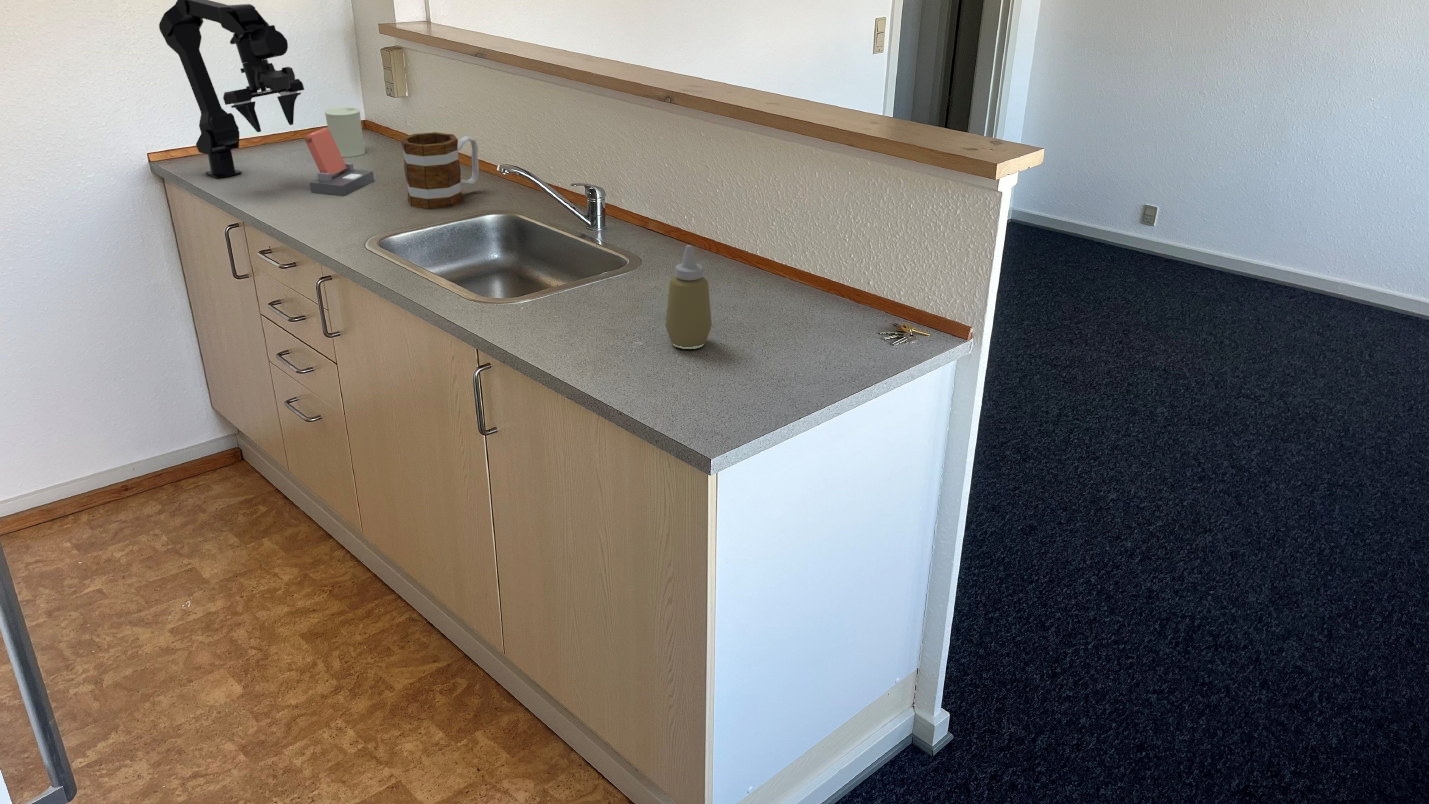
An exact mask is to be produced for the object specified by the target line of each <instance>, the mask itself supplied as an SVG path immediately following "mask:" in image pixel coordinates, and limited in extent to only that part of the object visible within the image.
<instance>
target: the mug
mask: <svg viewBox="0 0 1429 804" xmlns="http://www.w3.org/2000/svg"><path fill="white" fill-rule="evenodd" d="M468 141H469V142H470V146H471V168H472V169H471V170H472V171H471V172H472V174H471V177H470V178H469V179H467V180H466V179H461V175H462V174H461V173H462V172H461V166H460V165H461V164H460V161H459V151H461V150H462V149H463V147H464V145H465V144H466V143H467V142H468ZM400 142H401V146H402V152H403V161H404V162H403V163H404V164H403V169H404V174H405V179H406V186H407V202H408V204H409V206H410V207H412V208H418V209H424V210H436V209H437V210H438V209H447V208H453V207H455V206H457V205H459V204H461V203H464V197H463V193H462V185H465V186H467V185H469V186H471V185H473V184H474V183H476V182H477V180H478V177H479V173H480V172H479V170H480V169H479V146H478V144H477V141H476V139H475V138H474V137H471V136H468V135H465V136H463V137H461V138H460V139H458V138H457V137H456V136H455V134H453V133H446V132H445V133H444V132H438V131H437V132H436V131H434V132H424V133H423V132H422V133H420V132H419V133H412V134H408V135H407V136H404V137H401V138H400Z"/></svg>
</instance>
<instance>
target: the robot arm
mask: <svg viewBox="0 0 1429 804" xmlns="http://www.w3.org/2000/svg"><path fill="white" fill-rule="evenodd" d="M204 20H207V21H211V22H215V23H219V25H220V26H221V28H222V29H224V30H226V31H229V33H232V35H233V36H232V37H231V39H230V41H229V44H230V45H236V49H237V52H238V56H239V58H240V62H241V64H242V68H240V72H241V74H245V77H246V80H247V84H248V85H247V86H245V88H242V89H241V88H240V89H234V90H230V91H225V92H224V93H223V97H222V99H223V102H224V105H226V106H227V105H230V107H231V109H235V110H237V111H238V112H239V114H241V116H242V117H244V119H245V120H246V121H247V122H248V123H249V124H250V126H251V127H252V128H253V129H254V130H255V131H256V132H257V133H260V132H262V130H261V129H262V128H261V123H260V122H259V119H258V115H257V112H256V110H255V109H256V108H255V106H256V101H252V100H253V98H258V97H263V96H268V95H274V94H279V95H278V96H277V100H278V102H279V105H280V107H281V110H282V112H283V115H284V117H285V120H286V121H287V123H288V125H289V126H293V125H294V119H295V118H294V117H295V116H294V115H295V104H296V100H297V99H298V97H299V96H300V95H301V93H302V92H301V91H304V90H305V87H304V83H303V82H302V80H301V79H300V78H296V74H295V72H294V70H293V68H292V67H290V66H284V67H281V70H279V69H278V70H276V69H275V65H274V64H273V62H270V63H269V60H268V59H272V58H277V57H282V56H284V55H285V54H286V53H287V51H288V48H289V44H288V40H287V38H286V36H285V35H284V34H283V33H282V32H280V31H278V30H277V29H276V26H275V24H271V25H269V23H268V22H267V21H266V20H265V19H264V17H262V15H261V14H260V13H259V12H258V10H257V9H256V7H255V6H254V5H252V4H250V3H247V4H243V3H242V4H241V3H240V4H226V3H225V4H224V3H222V2H218V1H212V0H177V1H176V2H175V3H174V5H173V6H172V7H170V8H169V9H167V11H165V12H164V13H163V16H162V17H161V19H160V21H159V24H158V29H159V32H160V34H162V37H163V40H164V41H165V43H166V45H167V46H169V47H170V48H171V49H172V50H173V51H174V52H175V54H178V56H179V59H180V62H181V64H182V67H183V70H184V72H185V75H186V77H187V80H188V82H189V85H190V87H191V90H192V93H193V95H194V98H195V100H196V103H197V105H198V109H199V111H200V118H199V124H198V128H199V130H200V135H199V137H198V139H197V141H196V143H195V146H196V149H197V151H198V153H201V154H204V155H207V158H208V164H209V168H210V171H205V174H206V175H207V176H210V177H213V178H216V179H223V178H228V177H231V176H232V177H233V176H237V175H242V171H240V170H237V169H236V168H235V163H234V157H233V152H232V150H236V149H237V150H238V149H240V130H239V129H240V128H239V126H238V124H237V122H236V119H235V115H234V114H233V113H231V112H229V113H228V112H226V111H225V109H224V108H223V107H222V106H221V103H220V101H219V98H218V94H217V93H216V92H217V91H216V90H215V87H214V84H213V82H212V79H211V76H210V74H209V72H208V68H207V66H206V64H205V61H204V58H203V56H202V53H201V50H200V48H201V43H202V33H201V31H200V29H201V27H202V26H203V24H204Z"/></svg>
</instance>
